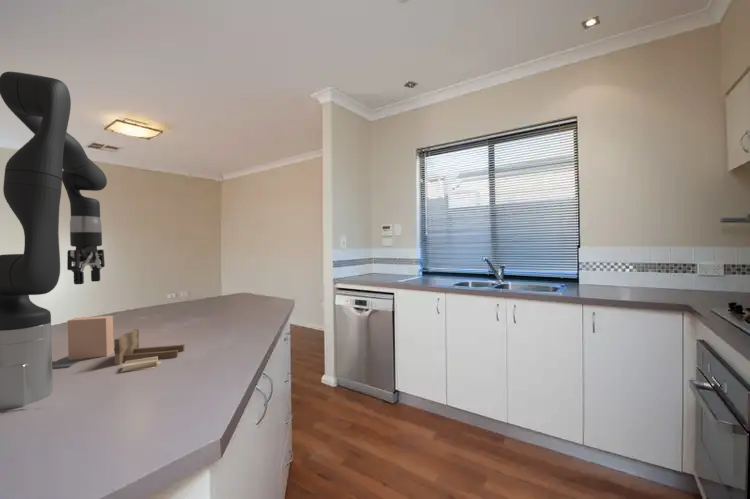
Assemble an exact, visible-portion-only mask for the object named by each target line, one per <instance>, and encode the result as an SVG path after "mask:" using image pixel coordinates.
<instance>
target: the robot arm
mask: <svg viewBox="0 0 750 499" xmlns="http://www.w3.org/2000/svg"><path fill="white" fill-rule="evenodd" d="M70 94H71V93H70V91H69V87H68V86H67V84H66V83H64V81H62V80H60V79H57V78H54V77H48V76H43V75H37V74H33V73H26V72H19V71H18V72H17V71H5V72H3V73H1V74H0V97H1V99H2V100H3V102H4V103H5V105H6V107H7V108H8V110H10V111H11V112H12V113H13V114H14V115H15V117H16V118H18V119H19V121H21V122H22V123H23V125H25V127H27V129H28V130H30V132H32V134H34V135H33V137H31V138H30V139H29V140H28V141H27V142H25V144H23V146H21V147H20V148H19V149H17V151H15V153H14V154H13V155H12V156H10V158H9V160H7V162H6V164H5V168H4V176H3V188H2V189H3V190H2V191H3V197H4V199H5V201H6V203H7V205H8V206H9V207H10V209H11V211H12V212H13V214H14V215H15V216H16V218H17V220H18V221H19V223H20V225H21V227H22V229H23V235H24V236H23V237H24V247H23V248H24V250H23V253H11V254H0V410H3V409H12V408H13V409H14V408H15V409H14V410H11V412H12V411H16V408H19V411H23V410H25V408H22V407H26V406H29V405H30V404H33V403H36V402H40V401H42V400H44V399H46V398H48V397H50V396H51V395H52V394H53V393H54V378H53V376H54V375H53V369H52V363H53V347H52V346H53V345H52V344H53V343H52V315H51V314H52V313H51V311H50V310H49V309H47V308H44V307H42V306H39V305H37V304H35V303H34V302H33V301H31V299H30V296H38V295H46V294H47V293H50V292H52V291H53V290H54V289H55V288H56V286H57V285H58V282H59V279H60V275H61V255H60V254H61V253H60V238H59V235H60V234H59V230H60V229H59V226H60V225H59V224H60V222H59V221H60V205H61V198H62V197H61V195H62V184H63V186H64V188H65V190H66V191H65V192H66V194H67V197H68V201H69V204H70V206H69V207H70V220H69V236H70V238H69V239H70V240H69V242H70V243H69V244H70V247H72V248H73V247H75V249H68V250H67V253H66V254H67V255H66V256H67V259H66V260H67V261H66V262H67V263H66V264H67V268H66V269H67V271H71V272H72V273H73V284H74V285H83V284H85V281H84V280H85V279H84V278H85V276H84V275H85V274H84V270H85V268H86V267H87V266H89V268H90V278H91V279H90V280H91V282H100V281H101V270H102V268H104V267H105V250H104V249H98V247H101V246H103V237H102V236H103V235H102V234H103V230H102V228H103V226H102V221H101V202H100V201H99V200H98V199H96V198H93V197H89V196H83V195H82V193H81V191H93V192H95V191H97V192H98V191H102V190H104V189H105V188H106V186H107V184H108V179H107V176H106V174H105V172H104V171H103V170H102V169H101V168H100V167H99V166H98V165H97V164H96V163H94V161H92V160H91V159H90V158H89V157H88V155H87V153H86V151H85V149H84V147H83V146H82V145H81V143H80V142H79V141H78V140H77V139H76V138H75V137H74V136H73V135H71V134H70V133H68V132H67V131H68V128H69V127H68V125H69V120H70V115H71V104H72V102H71V101H72V99H71V95H70ZM20 408H21V409H20ZM3 412H7V410H6V411H3Z"/></svg>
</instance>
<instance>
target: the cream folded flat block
mask: <svg viewBox="0 0 750 499" xmlns="http://www.w3.org/2000/svg"><path fill="white" fill-rule="evenodd" d="M161 363H162V362H161V361H158V363H157V366H159V365H160V364H161ZM157 366H155V367H149V368H143V369H137V370H136V371H141V370H153V369H155V368H156V367H157ZM133 371H135V370H131V371H130V372H133ZM119 372H123V369H121V370H120V371H119Z"/></svg>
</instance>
